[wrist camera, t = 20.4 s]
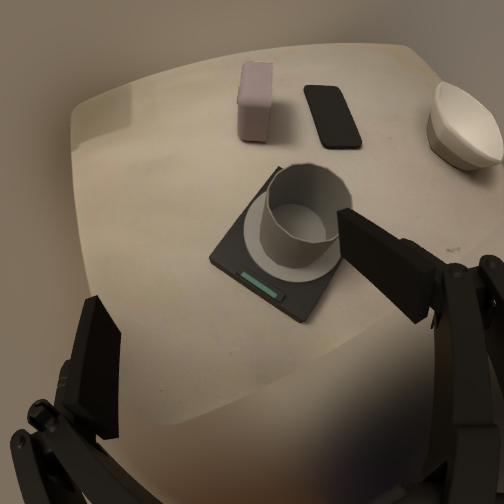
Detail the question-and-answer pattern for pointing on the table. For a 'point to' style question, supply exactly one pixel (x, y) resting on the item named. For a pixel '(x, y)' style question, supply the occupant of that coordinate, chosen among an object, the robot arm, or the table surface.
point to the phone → (332, 117)
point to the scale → (272, 264)
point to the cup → (302, 214)
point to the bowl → (463, 130)
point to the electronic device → (254, 101)
